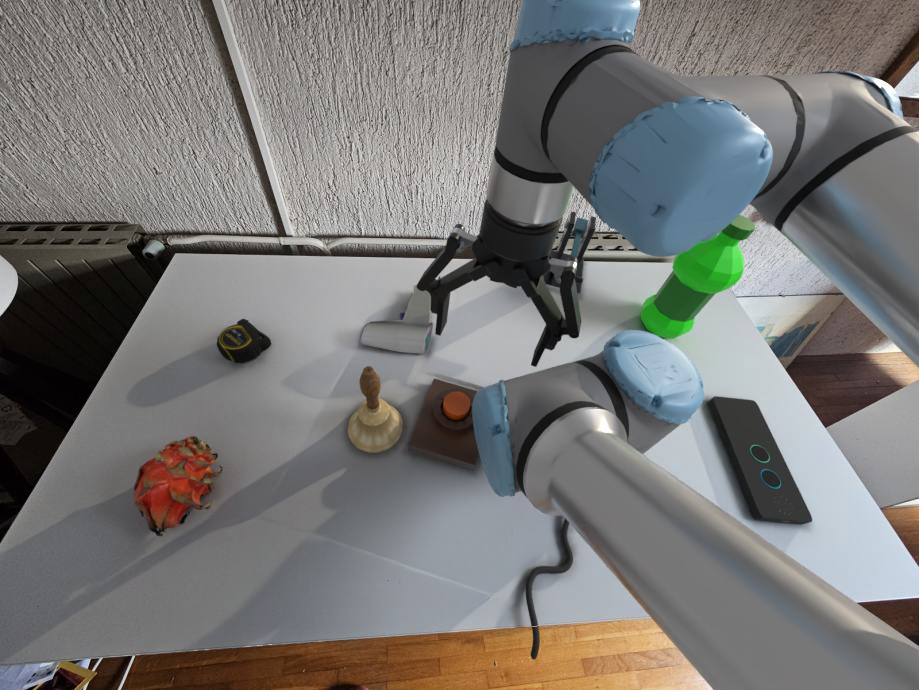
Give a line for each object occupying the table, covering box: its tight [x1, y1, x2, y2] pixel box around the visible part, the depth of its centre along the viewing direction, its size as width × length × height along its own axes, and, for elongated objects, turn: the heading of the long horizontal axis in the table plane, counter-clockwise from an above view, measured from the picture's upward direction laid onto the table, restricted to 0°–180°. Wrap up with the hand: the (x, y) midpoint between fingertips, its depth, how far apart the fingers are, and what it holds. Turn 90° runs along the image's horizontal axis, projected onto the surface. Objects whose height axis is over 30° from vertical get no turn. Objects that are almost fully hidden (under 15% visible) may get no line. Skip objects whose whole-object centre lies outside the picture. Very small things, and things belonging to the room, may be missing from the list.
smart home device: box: [707, 395, 813, 526], centre depth 61 cm, size 8×2×20 cm
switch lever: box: [569, 216, 589, 285], centre depth 73 cm, size 14×5×2 cm, turn 165°
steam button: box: [443, 392, 470, 421], centre depth 57 cm, size 4×4×2 cm
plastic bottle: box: [639, 214, 756, 340], centre depth 68 cm, size 10×10×25 cm
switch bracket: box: [543, 211, 597, 294], centre depth 79 cm, size 12×9×14 cm
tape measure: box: [216, 318, 272, 364], centre depth 63 cm, size 7×7×4 cm
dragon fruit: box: [133, 435, 224, 538], centre depth 47 cm, size 8×8×12 cm
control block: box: [408, 378, 479, 471], centre depth 58 cm, size 12×10×4 cm
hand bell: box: [347, 365, 404, 454], centre depth 52 cm, size 8×8×16 cm
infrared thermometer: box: [359, 284, 434, 355], centre depth 70 cm, size 5×12×15 cm
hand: (487, 343), depth 52 cm, fingers open, 13 cm apart
